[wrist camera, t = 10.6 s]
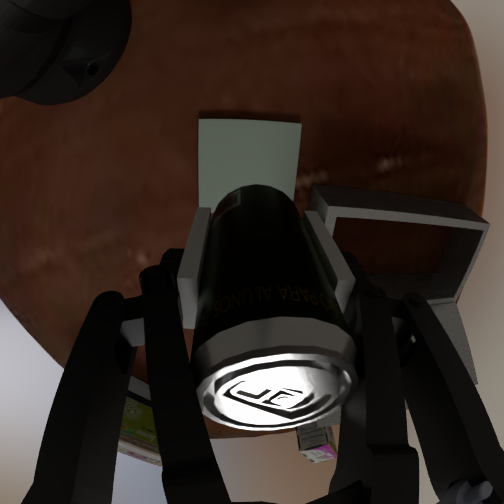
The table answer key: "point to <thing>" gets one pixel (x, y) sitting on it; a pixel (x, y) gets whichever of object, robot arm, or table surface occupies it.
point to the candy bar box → (316, 442)
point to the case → (427, 285)
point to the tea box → (139, 425)
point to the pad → (246, 156)
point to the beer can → (268, 319)
